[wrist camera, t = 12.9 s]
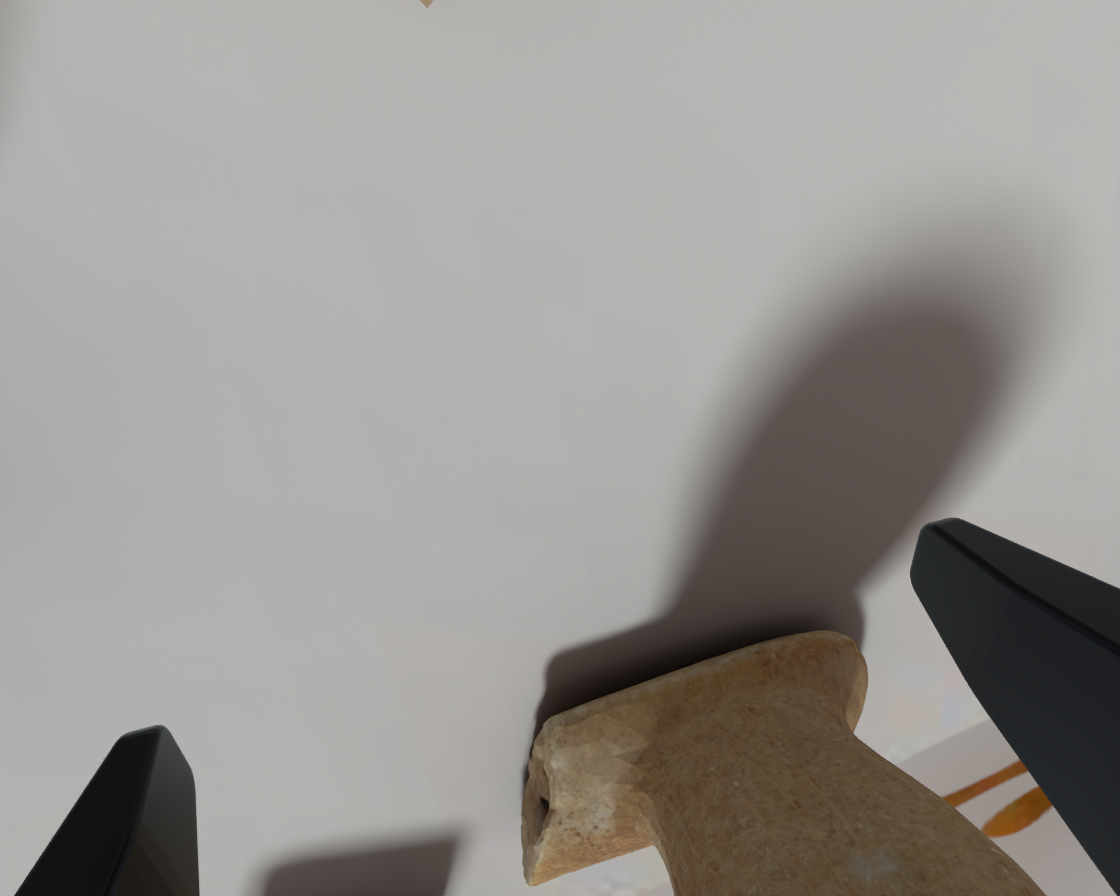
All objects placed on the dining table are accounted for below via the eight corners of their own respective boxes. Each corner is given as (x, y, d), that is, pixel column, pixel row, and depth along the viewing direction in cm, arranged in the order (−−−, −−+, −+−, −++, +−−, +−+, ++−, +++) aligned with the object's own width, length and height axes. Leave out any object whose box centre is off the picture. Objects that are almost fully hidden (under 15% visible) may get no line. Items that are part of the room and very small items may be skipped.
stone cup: (868, 550, 31) (1226, 966, 20) (831, 737, 38) (1077, 1126, 27) (476, 656, 29) (617, 1210, 17) (513, 836, 36) (631, 1316, 24)
